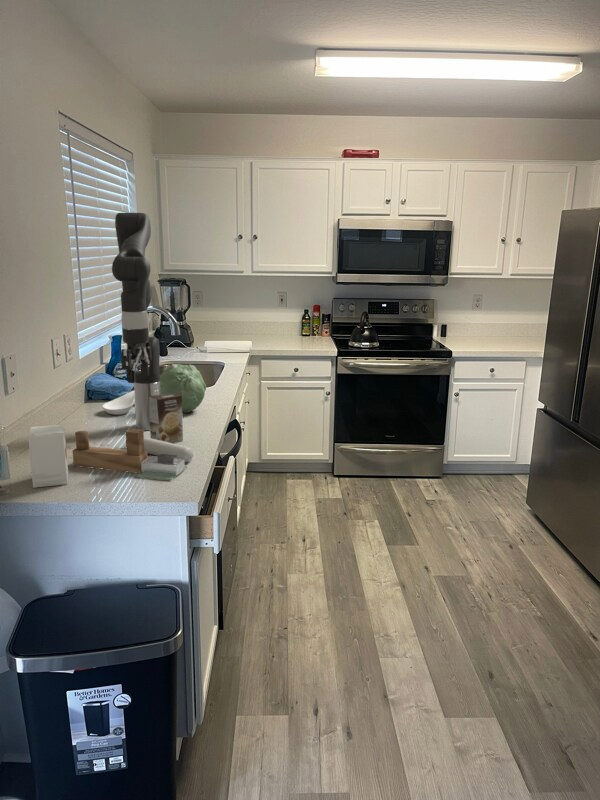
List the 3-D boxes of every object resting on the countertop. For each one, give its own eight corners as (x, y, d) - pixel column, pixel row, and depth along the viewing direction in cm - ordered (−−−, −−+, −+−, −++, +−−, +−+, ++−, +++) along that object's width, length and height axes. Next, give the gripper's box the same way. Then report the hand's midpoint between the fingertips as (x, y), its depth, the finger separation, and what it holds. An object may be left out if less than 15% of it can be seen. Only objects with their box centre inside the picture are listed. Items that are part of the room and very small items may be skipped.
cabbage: (206, 416, 228) (205, 366, 223) (157, 417, 226) (155, 367, 221) (207, 406, 243) (205, 359, 239) (161, 407, 241) (159, 360, 236)
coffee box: (160, 446, 192) (158, 399, 188) (150, 442, 196) (147, 396, 192) (183, 440, 198) (182, 395, 194) (173, 436, 202) (171, 391, 199)
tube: (194, 464, 179) (135, 449, 191) (197, 447, 179) (138, 433, 191) (183, 464, 174) (123, 449, 186) (186, 446, 174) (126, 432, 186)
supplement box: (68, 484, 159) (63, 432, 155) (32, 488, 156) (27, 435, 153) (69, 473, 167) (64, 423, 164) (35, 476, 164) (30, 426, 161)
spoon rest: (119, 419, 224) (117, 401, 223) (96, 415, 229) (95, 397, 228) (158, 405, 245) (158, 389, 243) (137, 402, 250) (136, 386, 248)
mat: (156, 464, 175) (156, 462, 175) (187, 467, 173) (187, 465, 173) (138, 477, 165) (138, 475, 165) (170, 480, 163) (170, 478, 162)
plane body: (82, 461, 177) (79, 423, 174) (148, 467, 172) (146, 429, 169) (73, 466, 173) (70, 427, 170) (140, 473, 168) (138, 433, 165)
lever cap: (150, 465, 173) (149, 450, 172) (184, 468, 170) (184, 454, 169) (141, 471, 168) (140, 456, 166) (176, 475, 165) (175, 460, 164)
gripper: (135, 322, 179) (138, 373, 183) (111, 329, 165) (115, 384, 170) (157, 323, 177) (160, 374, 182) (135, 330, 164) (138, 385, 168)
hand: (138, 379), depth 176 cm, fingers open, 8 cm apart
